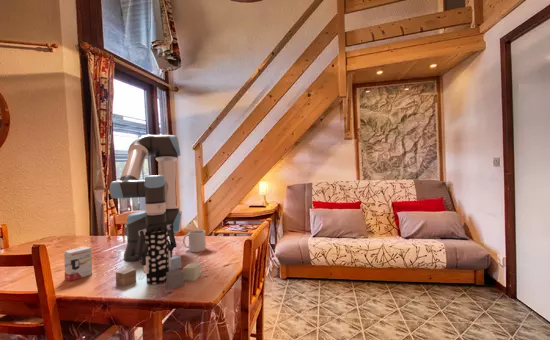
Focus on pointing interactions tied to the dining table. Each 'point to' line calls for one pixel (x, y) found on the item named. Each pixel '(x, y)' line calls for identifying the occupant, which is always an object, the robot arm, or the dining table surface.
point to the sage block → (192, 271)
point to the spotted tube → (157, 256)
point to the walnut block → (125, 277)
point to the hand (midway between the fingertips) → (157, 269)
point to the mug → (196, 241)
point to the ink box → (78, 263)
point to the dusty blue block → (175, 262)
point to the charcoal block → (175, 278)
